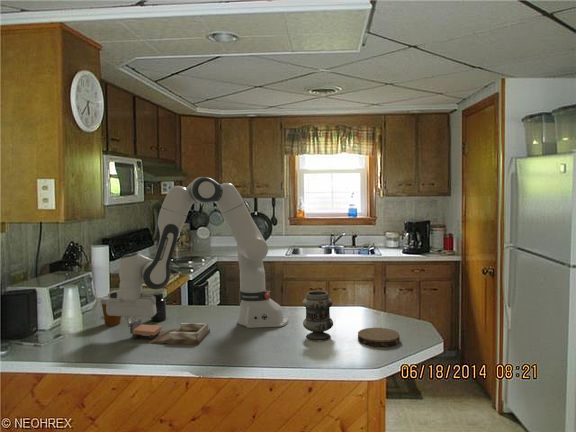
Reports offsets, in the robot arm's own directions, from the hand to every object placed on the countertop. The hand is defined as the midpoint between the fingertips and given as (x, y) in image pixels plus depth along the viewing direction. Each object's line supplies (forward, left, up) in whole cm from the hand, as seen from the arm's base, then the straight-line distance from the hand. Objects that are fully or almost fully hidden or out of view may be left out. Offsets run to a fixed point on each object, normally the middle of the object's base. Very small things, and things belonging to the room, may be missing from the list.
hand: (131, 326), depth 198 cm
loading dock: (-20, 0, -5) cm, 21 cm away
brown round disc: (-99, -3, -5) cm, 99 cm away
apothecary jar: (-76, -5, -4) cm, 76 cm away
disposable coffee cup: (+16, -16, -4) cm, 23 cm away
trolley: (-6, 0, -4) cm, 7 cm away
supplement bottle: (-2, -24, -4) cm, 24 cm away
